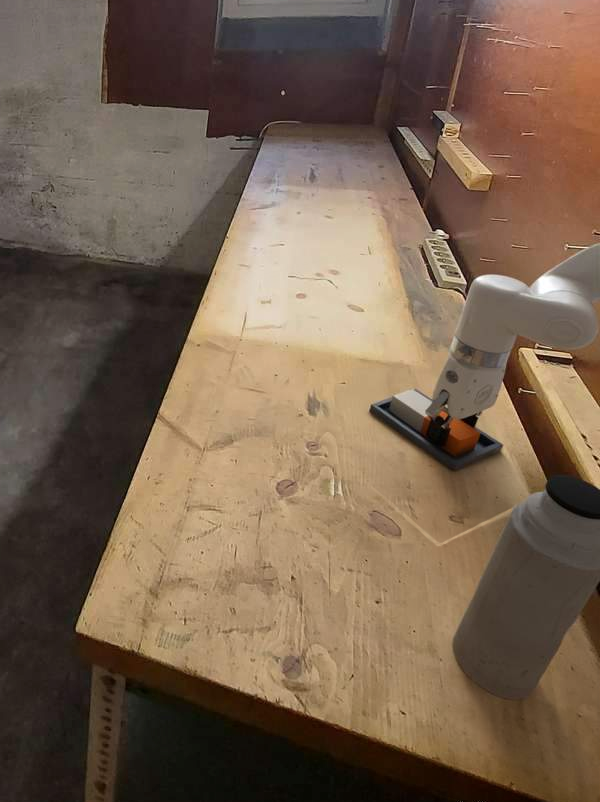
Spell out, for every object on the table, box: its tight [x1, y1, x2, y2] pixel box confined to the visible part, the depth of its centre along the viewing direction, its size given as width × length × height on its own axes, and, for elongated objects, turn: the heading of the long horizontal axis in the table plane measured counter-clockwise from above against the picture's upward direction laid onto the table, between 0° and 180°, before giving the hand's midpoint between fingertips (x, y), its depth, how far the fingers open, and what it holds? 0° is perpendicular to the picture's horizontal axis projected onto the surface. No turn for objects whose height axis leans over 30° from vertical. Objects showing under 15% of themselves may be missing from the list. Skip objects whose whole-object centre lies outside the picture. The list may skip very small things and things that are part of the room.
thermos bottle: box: [451, 474, 600, 701], centre depth 60 cm, size 8×8×28 cm
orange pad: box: [420, 411, 481, 457], centre depth 98 cm, size 5×6×4 cm
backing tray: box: [369, 388, 504, 473], centre depth 101 cm, size 12×17×2 cm
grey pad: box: [389, 388, 442, 432], centre depth 103 cm, size 5×6×4 cm
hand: (448, 434), depth 98 cm, fingers open, 6 cm apart
